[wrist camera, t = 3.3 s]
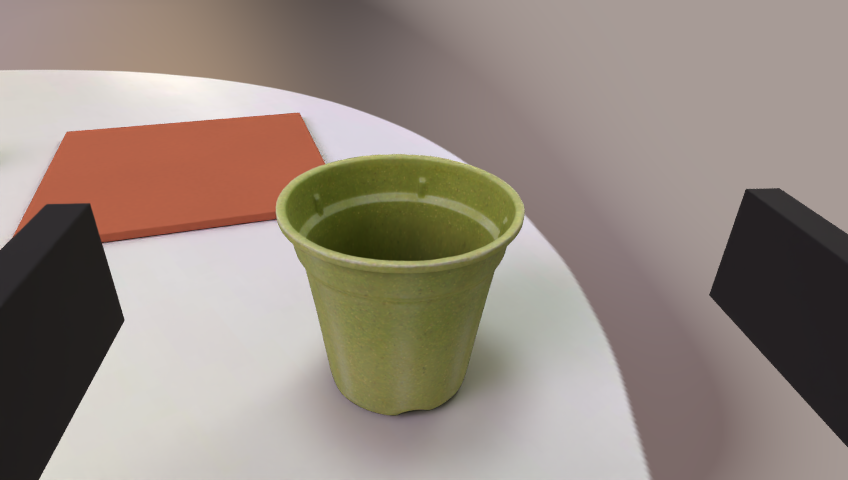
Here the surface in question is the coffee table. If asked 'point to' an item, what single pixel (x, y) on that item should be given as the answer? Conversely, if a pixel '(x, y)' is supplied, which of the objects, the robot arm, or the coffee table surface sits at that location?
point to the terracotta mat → (178, 173)
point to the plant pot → (399, 269)
